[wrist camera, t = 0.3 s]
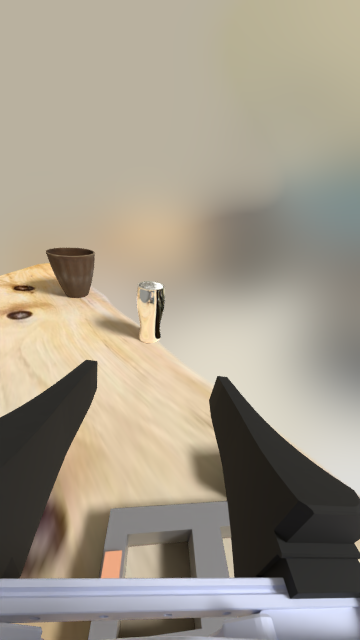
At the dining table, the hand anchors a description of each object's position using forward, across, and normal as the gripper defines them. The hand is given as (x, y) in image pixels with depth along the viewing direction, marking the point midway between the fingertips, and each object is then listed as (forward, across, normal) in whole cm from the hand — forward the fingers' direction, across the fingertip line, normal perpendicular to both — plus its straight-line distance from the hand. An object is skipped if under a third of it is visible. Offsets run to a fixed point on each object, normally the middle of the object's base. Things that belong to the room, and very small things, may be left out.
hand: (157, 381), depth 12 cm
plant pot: (+65, +32, +21) cm, 75 cm away
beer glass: (+38, +2, +20) cm, 43 cm away
